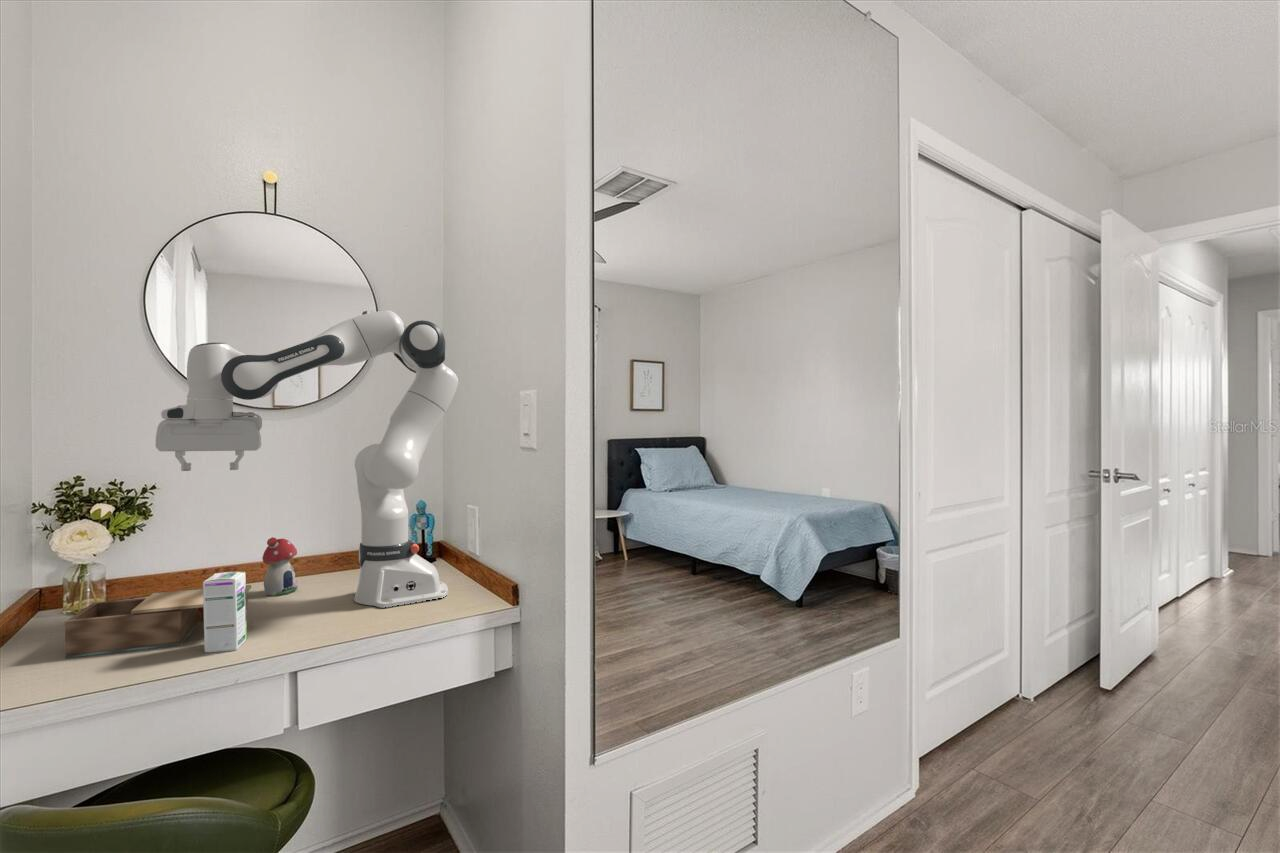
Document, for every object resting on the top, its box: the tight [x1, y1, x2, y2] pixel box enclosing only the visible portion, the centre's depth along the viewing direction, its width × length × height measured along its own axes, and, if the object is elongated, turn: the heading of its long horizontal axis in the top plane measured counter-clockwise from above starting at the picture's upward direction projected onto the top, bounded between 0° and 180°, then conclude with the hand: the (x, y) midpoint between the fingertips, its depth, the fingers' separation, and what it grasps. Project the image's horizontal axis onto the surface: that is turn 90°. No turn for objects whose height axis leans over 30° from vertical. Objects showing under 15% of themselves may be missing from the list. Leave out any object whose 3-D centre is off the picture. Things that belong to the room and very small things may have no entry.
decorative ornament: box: [262, 537, 299, 597], centre depth 155 cm, size 9×7×15 cm
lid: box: [131, 584, 252, 614], centre depth 127 cm, size 18×12×5 cm, turn 113°
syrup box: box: [202, 571, 248, 653], centre depth 120 cm, size 6×6×14 cm
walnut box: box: [64, 597, 199, 659], centre depth 123 cm, size 18×12×7 cm, turn 113°
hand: (210, 470), depth 141 cm, fingers open, 8 cm apart
